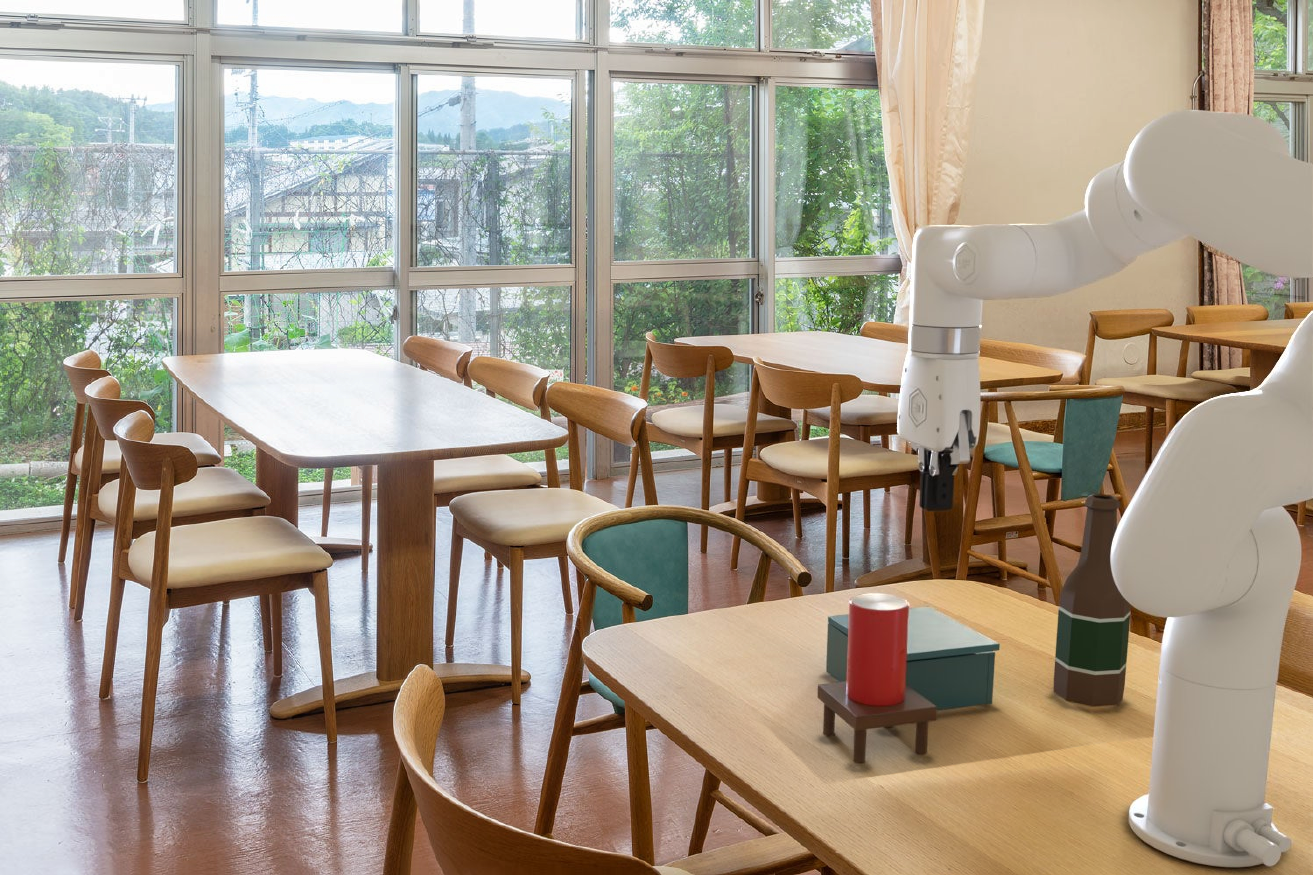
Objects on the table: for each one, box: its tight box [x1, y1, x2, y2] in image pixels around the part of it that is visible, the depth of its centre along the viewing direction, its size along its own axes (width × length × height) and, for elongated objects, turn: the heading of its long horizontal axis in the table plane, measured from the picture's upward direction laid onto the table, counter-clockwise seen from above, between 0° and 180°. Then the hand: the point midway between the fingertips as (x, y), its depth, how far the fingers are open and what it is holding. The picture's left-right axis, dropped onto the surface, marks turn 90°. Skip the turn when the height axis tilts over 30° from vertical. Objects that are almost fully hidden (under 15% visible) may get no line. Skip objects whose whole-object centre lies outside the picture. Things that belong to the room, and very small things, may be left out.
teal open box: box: [825, 622, 996, 712], centre depth 147 cm, size 15×14×7 cm
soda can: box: [846, 592, 910, 706], centre depth 130 cm, size 6×6×10 cm
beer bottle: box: [1053, 493, 1132, 707], centre depth 144 cm, size 8×8×24 cm
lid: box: [827, 605, 1001, 661], centre depth 146 cm, size 15×14×1 cm
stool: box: [816, 681, 938, 765], centre depth 131 cm, size 9×9×6 cm
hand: (935, 508), depth 139 cm, fingers closed
